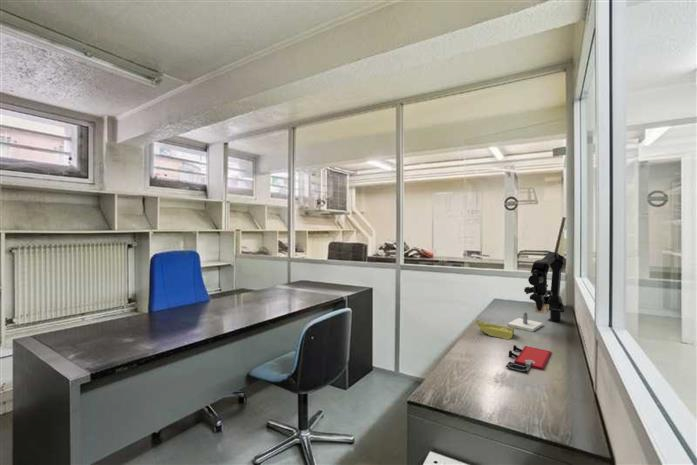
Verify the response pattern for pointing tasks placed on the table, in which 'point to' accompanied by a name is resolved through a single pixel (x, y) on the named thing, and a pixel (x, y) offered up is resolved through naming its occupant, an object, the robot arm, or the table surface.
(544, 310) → the collar
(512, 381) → the table surface
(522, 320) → the post plate
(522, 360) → the red board with handle
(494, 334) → the plastic component
